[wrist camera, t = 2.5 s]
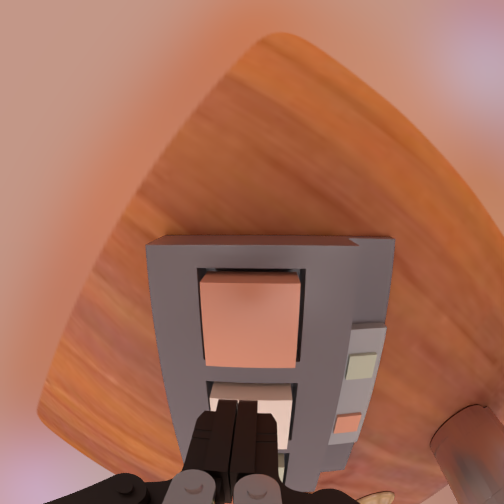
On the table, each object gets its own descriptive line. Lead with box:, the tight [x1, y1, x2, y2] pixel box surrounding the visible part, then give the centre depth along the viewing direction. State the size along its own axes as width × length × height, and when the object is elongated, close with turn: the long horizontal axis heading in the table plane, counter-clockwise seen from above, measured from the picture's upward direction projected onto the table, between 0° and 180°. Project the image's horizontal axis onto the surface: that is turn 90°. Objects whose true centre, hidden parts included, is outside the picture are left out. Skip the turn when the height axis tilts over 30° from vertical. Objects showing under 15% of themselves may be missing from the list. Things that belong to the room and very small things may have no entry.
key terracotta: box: [200, 271, 301, 368], centre depth 19 cm, size 6×6×2 cm
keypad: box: [146, 235, 395, 492], centre depth 23 cm, size 18×28×4 cm, turn 0°
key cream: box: [210, 381, 292, 449], centre depth 21 cm, size 6×6×2 cm
